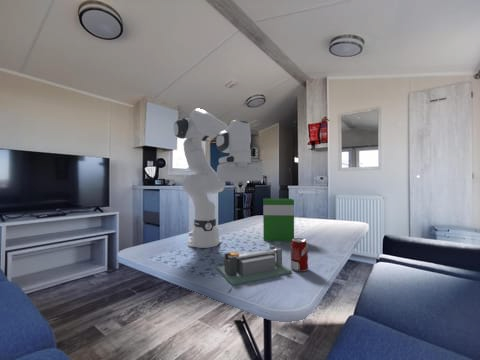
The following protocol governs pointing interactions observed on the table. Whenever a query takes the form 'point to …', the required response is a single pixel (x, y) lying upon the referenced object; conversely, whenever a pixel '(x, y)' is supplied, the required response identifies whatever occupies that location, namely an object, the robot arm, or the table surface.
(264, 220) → the green cereal box
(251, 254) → the strap
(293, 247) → the soda can
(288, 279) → the table surface
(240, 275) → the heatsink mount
